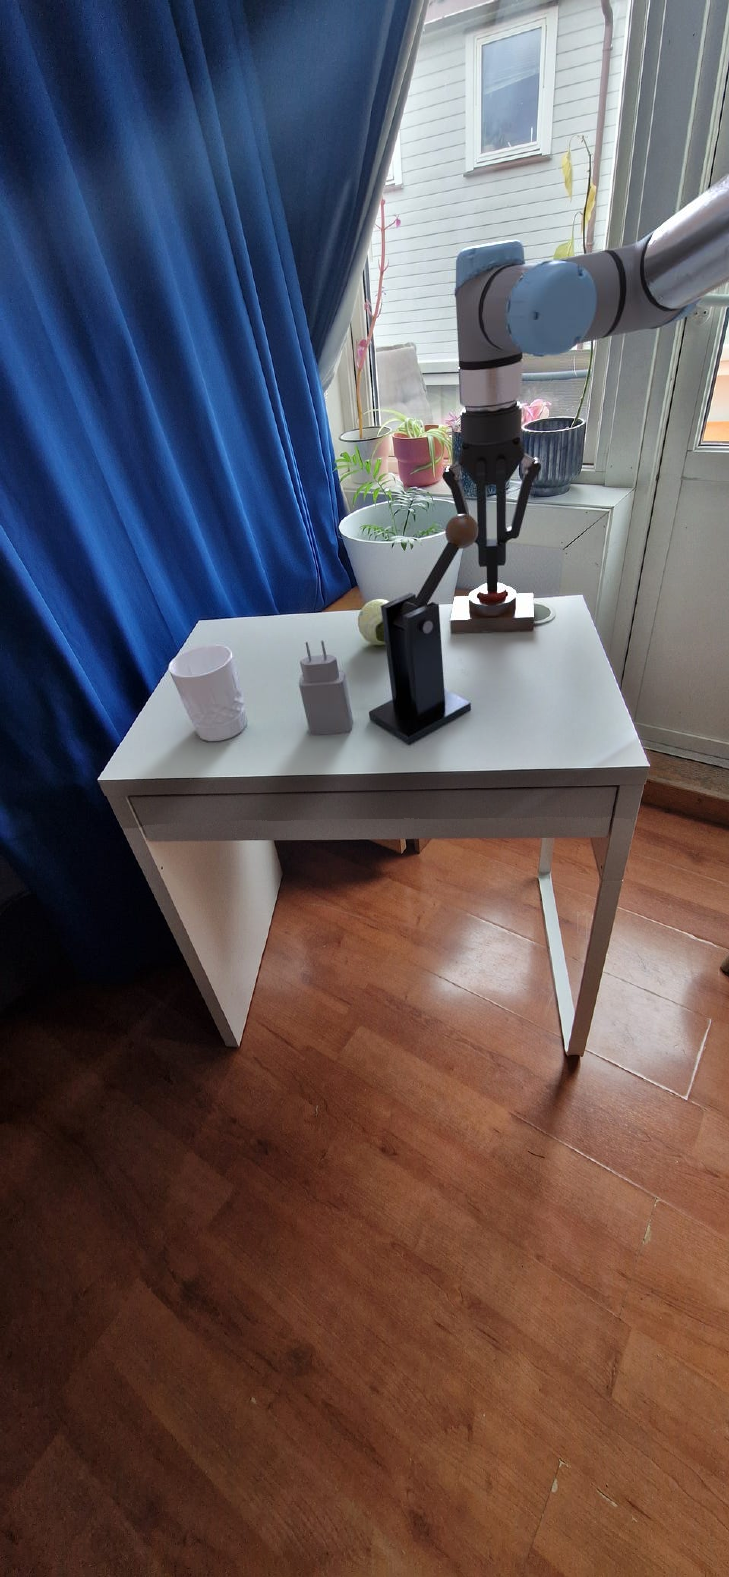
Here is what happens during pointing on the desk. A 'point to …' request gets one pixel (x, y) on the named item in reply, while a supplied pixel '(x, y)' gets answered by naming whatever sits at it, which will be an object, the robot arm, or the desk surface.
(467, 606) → the button block
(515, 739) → the desk surface
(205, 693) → the white cup
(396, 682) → the bracket
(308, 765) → the desk surface
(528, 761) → the desk surface
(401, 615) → the lever
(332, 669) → the power adapter
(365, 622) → the tennis ball
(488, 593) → the button
